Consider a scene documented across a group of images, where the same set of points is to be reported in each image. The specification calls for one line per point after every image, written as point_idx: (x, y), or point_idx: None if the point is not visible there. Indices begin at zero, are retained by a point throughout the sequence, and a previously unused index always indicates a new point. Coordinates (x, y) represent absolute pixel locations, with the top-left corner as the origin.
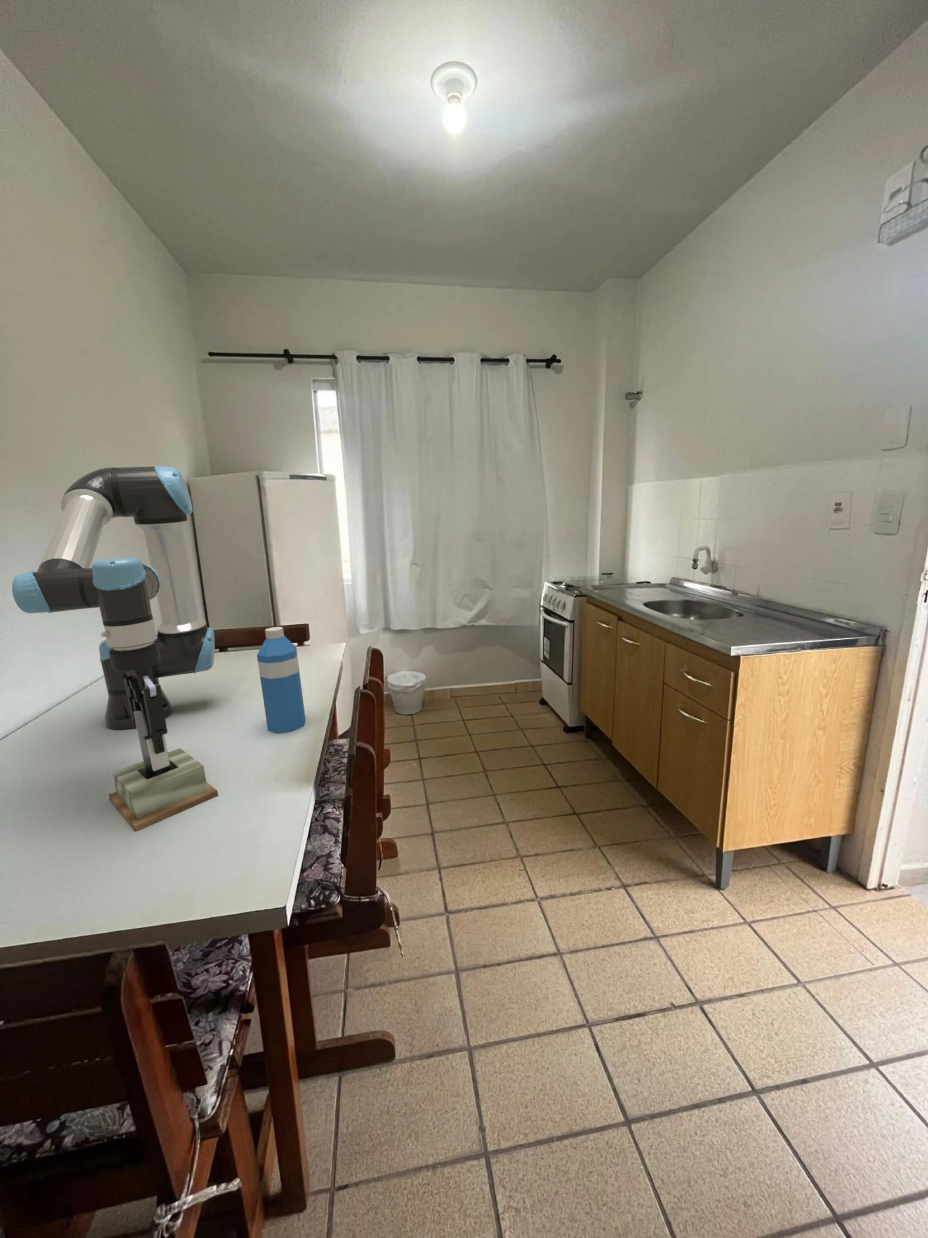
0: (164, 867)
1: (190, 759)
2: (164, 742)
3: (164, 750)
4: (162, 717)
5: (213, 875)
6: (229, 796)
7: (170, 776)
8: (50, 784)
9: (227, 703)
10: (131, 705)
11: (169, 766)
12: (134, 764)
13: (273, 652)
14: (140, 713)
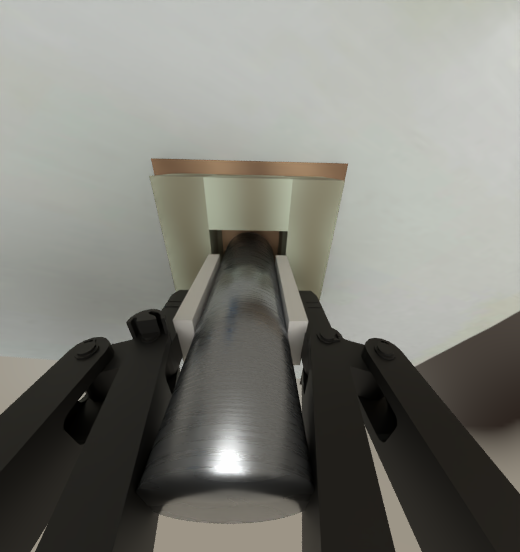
0: (429, 297)
1: (266, 189)
2: (299, 297)
3: (313, 294)
4: (481, 464)
5: (513, 268)
6: (371, 147)
7: (317, 261)
8: (65, 331)
9: None
10: (45, 524)
11: (264, 246)
12: (177, 290)
13: None
14: (277, 516)
